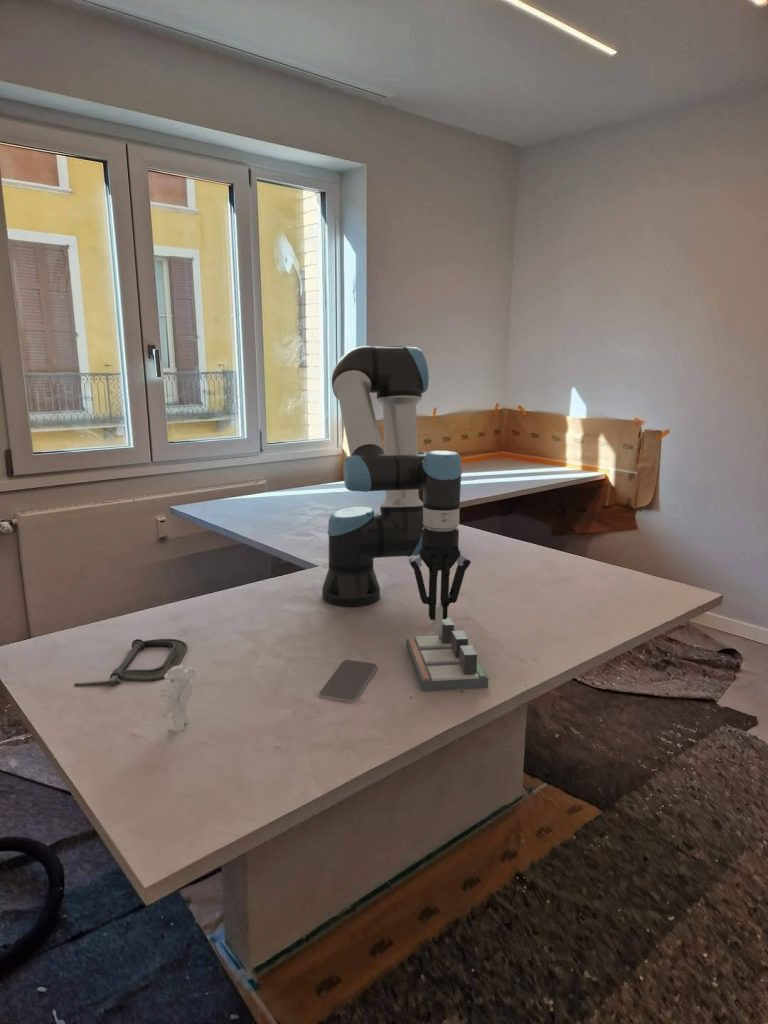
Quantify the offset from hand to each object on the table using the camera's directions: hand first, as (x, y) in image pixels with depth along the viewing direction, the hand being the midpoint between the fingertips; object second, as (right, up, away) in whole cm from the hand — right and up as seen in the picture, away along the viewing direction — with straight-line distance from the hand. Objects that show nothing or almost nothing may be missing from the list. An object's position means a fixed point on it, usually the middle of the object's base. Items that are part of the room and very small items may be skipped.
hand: (437, 632), depth 140 cm
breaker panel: (+1, -6, -6) cm, 8 cm away
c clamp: (-62, -6, -5) cm, 62 cm away
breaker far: (+2, -1, +1) cm, 2 cm away
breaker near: (+5, -5, -13) cm, 14 cm away
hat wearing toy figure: (-47, -11, -27) cm, 55 cm away
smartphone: (-18, -8, -12) cm, 23 cm away
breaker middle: (+4, -3, -6) cm, 8 cm away
